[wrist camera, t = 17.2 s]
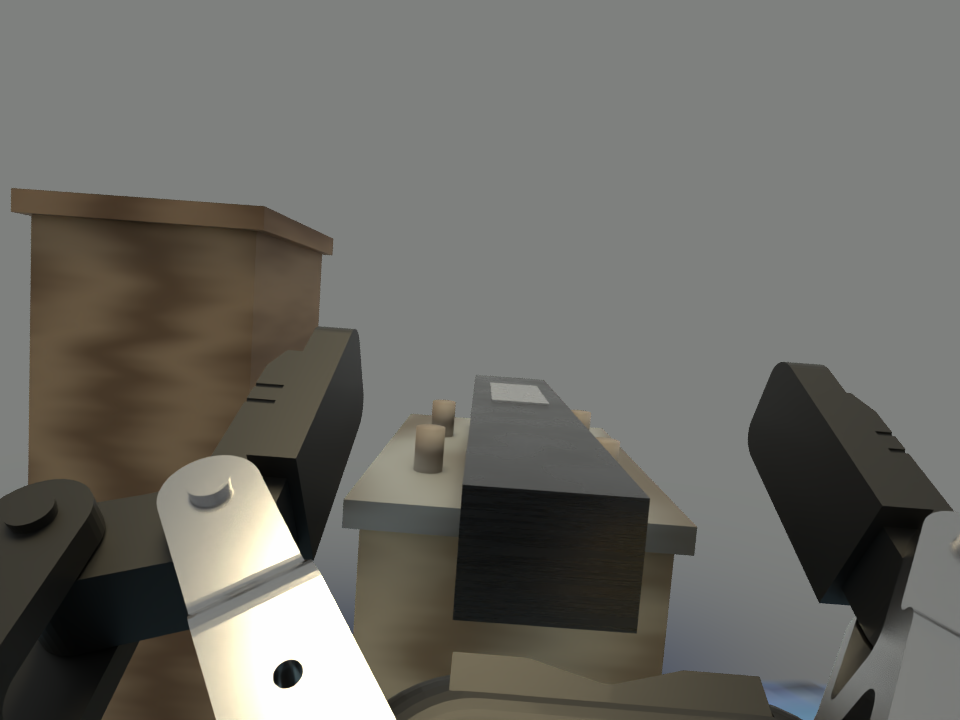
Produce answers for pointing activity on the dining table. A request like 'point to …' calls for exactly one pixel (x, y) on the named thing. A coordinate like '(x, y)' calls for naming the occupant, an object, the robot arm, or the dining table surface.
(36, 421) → the tall stand
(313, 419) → the robot arm
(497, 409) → the block
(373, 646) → the pin tray stand
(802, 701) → the dining table surface
